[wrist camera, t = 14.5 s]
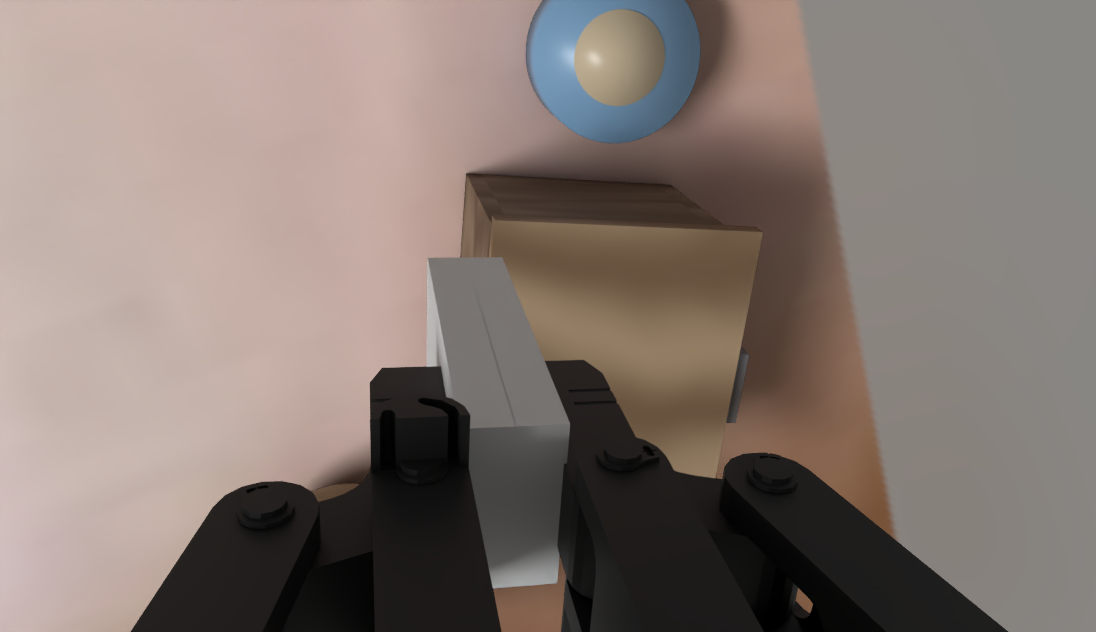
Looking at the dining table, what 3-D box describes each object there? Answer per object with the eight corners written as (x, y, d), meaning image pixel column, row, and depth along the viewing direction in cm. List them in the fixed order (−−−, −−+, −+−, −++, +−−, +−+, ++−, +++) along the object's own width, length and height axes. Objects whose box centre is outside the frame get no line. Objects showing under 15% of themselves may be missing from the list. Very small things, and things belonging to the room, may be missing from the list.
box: (466, 173, 45) (490, 222, 37) (670, 184, 48) (735, 233, 40) (448, 433, 51) (466, 525, 43) (632, 431, 53) (683, 519, 45)
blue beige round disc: (533, -43, 42) (545, -42, 40) (692, -25, 44) (713, -24, 41) (518, 127, 45) (528, 138, 42) (668, 137, 47) (686, 148, 44)
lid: (487, 204, 38) (494, 220, 36) (757, 217, 41) (780, 233, 39) (462, 515, 44) (468, 545, 42) (701, 509, 47) (718, 536, 45)
